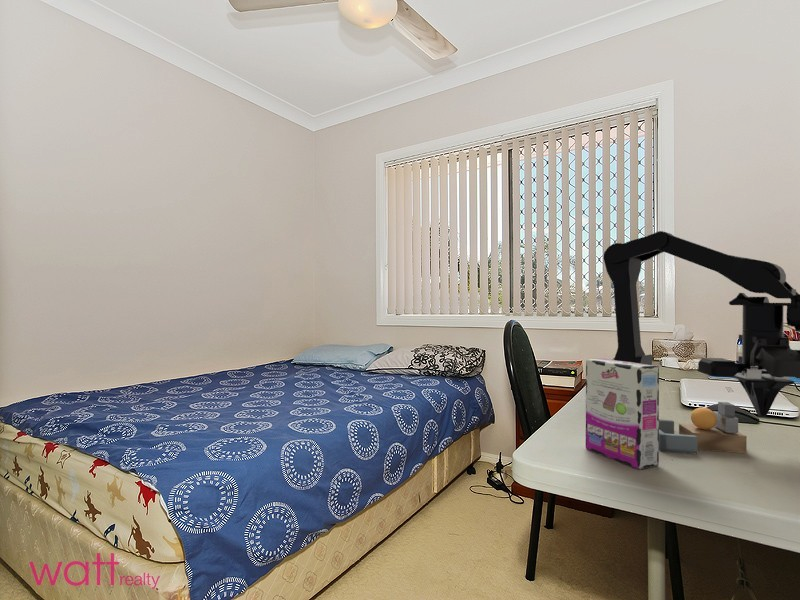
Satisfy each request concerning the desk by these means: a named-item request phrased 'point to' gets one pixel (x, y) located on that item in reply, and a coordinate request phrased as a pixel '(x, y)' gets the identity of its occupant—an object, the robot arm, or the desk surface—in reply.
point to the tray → (675, 439)
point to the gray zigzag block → (726, 417)
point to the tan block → (716, 439)
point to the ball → (703, 418)
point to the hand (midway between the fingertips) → (761, 416)
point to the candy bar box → (623, 411)
